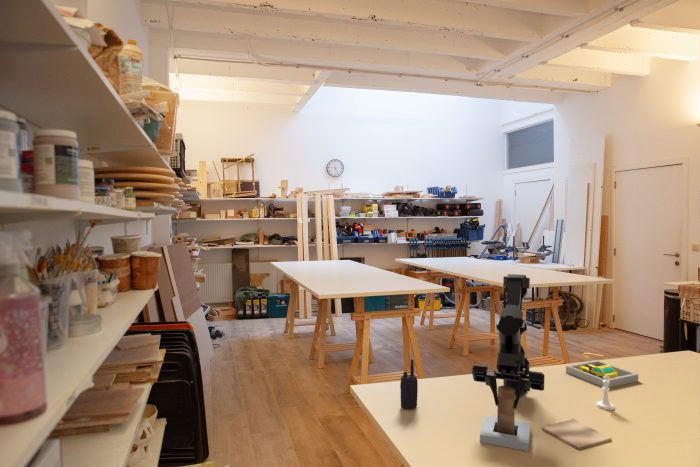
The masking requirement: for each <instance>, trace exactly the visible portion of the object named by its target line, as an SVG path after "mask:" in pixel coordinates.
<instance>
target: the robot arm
mask: <svg viewBox="0 0 700 467" xmlns="http://www.w3.org/2000/svg"><path fill="white" fill-rule="evenodd" d="M530 279H531V278H530V277H527V274H514V273H507V276H503V282H502V283H503V284H502V285H503V288H505V289H504V290H505V293H506V295H507V296H506V303H505V307H504V308H503V309H501V311H500V317H497V321H496V331H497V332H498V339H499V348H498V353H497V360H496V371H495V370H493V369H489V368H488V365H485V364H476V363H475V364H473V366H472V369H471V372H472V379H473V381H474V382H477V383H485V385H486V386H487V387H489V388H490V390H491V393H492V397H493V400H494V404H495V406H496V407H498V382H497V379H498V380H503V385H502V386H510V387H513V388H514V389H515V406H514V408H515V410H517V408H518V406H519V404H520V402H521V400H522V398H523V397H524V395H525V393H528V392H531V390H534V391H540V392H541V391H542V392H543V391H545V374H544V372H539V371H533V370H530V361H529V360H528V357H526V351H525V350H524V347H523V346H522V335H523V334H525V332H526V331H528V330H527V329H528V323H527V321H526V320H525V319H524V313H523V301H524V299H525V298H526V296H527V295H528V290H529V289H530V288H531V286H530V285H531V280H530Z"/></svg>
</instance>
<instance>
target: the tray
mask: <svg viewBox="0 0 700 467" xmlns="http://www.w3.org/2000/svg"><path fill="white" fill-rule="evenodd" d="M590 364H591V365H594V366H596V367H598V366H603V365H610V366H611V367H612V368H613V369H614V370H615V372H616V373H618V377H615V378H610V379H607V380H608V381H610V383H609V386H608V388H609V389H610V388H615V387H618V386H622V385H628V384H632V383H636V382H639V373H636V372H633V371H630V370H628V369H624V368H621V367H619V366H615V365H613V364H611V363H608V362H604V361H600V360H598V359H595V360H590V361H585V362H579V363H575V364H570V365H565V374H568V375H571V376H573V377H575V378H578V379H581V380H584V381H586V382H588V383H591V384H593V385H596V386H598V387H601V388H602V387H604V385H603V382H602V381H603V380H605V379H602V378H600V377H597V376H595V375H592V374H589V373H587V372H584V371H581V370H579V369H577V367H580V366H584V365H590Z"/></svg>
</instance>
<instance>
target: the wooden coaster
mask: <svg viewBox="0 0 700 467" xmlns="http://www.w3.org/2000/svg"><path fill="white" fill-rule="evenodd" d="M541 429H542V430H543V431H544V432H546V433H549V434H550V435H551V436H553V437H555V438H556V439H559V440H560V441H562V442H565V443H566V444H567V445H570V446H571V447H573V448H575V449H576V450H578V451H579V450H582V449H583V450H584V449H586V448H590V447H592V446H596V445H600V444H604V443H607V442H610V441H612V437H610V436H609V435H607V434H605V433H603V432H600V431H598V430H596V429H594V428H592V427H590V426H589V425H587V424H584V423H582V422H580V421H578V420H576V419H574V418H572V419H568V420H564V421H560V422H557V423H556V422H555V423H552V424H548V425H543V426H542V427H541Z"/></svg>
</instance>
